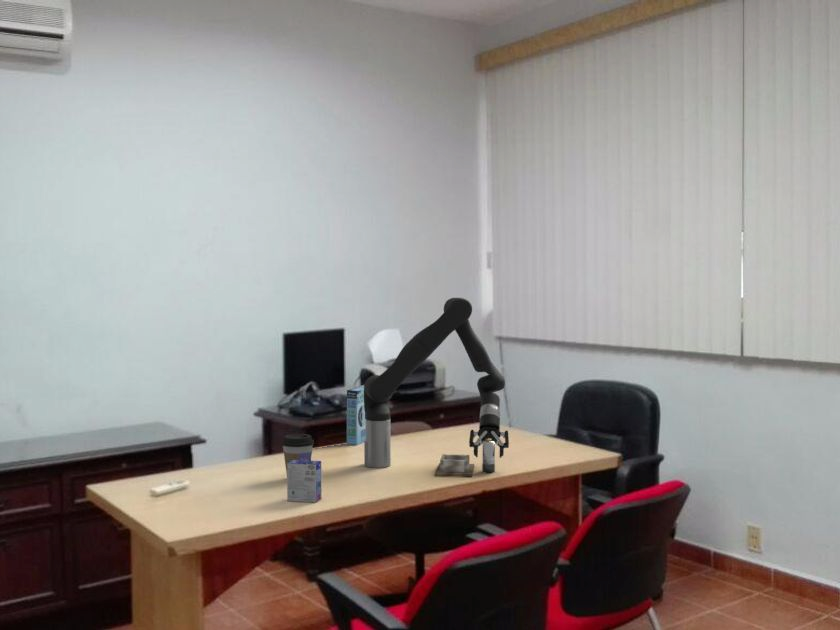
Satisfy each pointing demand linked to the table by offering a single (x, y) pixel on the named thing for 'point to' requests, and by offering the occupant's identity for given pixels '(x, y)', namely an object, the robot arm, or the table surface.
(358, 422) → the light blue carton
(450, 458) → the cell holder
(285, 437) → the coffee cup
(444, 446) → the table surface
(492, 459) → the battery cell
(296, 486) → the ink cartridge box
